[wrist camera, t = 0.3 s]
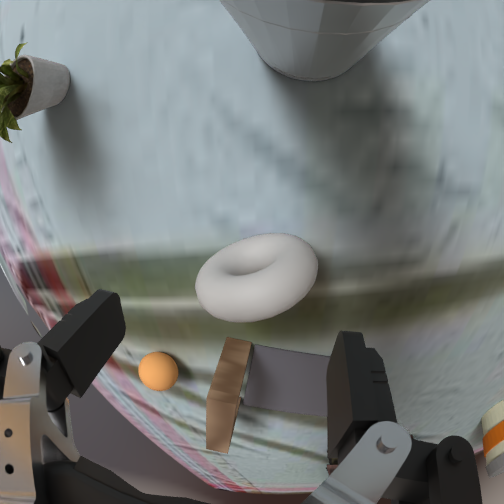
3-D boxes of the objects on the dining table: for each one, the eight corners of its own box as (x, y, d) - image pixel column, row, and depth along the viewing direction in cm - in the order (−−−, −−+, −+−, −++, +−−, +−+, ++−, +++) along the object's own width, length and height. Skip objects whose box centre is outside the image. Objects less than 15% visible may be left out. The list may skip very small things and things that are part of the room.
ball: (145, 339, 36) (128, 367, 32) (182, 350, 36) (168, 380, 31) (150, 363, 39) (135, 390, 34) (184, 374, 39) (172, 403, 34)
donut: (220, 270, 29) (188, 337, 20) (209, 240, 28) (168, 300, 19) (318, 251, 27) (325, 321, 18) (311, 217, 25) (316, 277, 16)
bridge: (220, 399, 40) (206, 448, 32) (226, 337, 33) (206, 398, 25) (239, 403, 40) (227, 453, 32) (251, 342, 33) (236, 404, 25)
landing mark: (255, 344, 33) (255, 345, 33) (364, 360, 32) (365, 361, 32) (243, 403, 40) (242, 404, 40) (330, 415, 39) (330, 416, 38)
